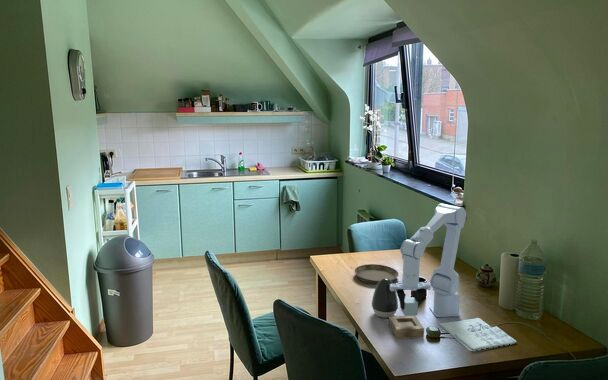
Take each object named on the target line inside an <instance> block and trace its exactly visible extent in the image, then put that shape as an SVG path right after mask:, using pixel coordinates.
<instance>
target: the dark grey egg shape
mask: <svg viewBox="0 0 608 380" xmlns="http://www.w3.org/2000/svg"><path fill="white" fill-rule="evenodd" d="M390 284H394V283H393V282H392V281H391V280H390V279H388V278H383V279H381V280H380V281H379V282H378V284H376V287H374V292H373V295H372V301H371V307H372V310H373V312H374V313H375V315H377V316H378V317H379V318H384V319H385V318H386V319H387V318H389V316H395V314H396V313H397V310H398V309H399V302H398V301H399V299H398V295H397V292H396V290H394V291H391V290H390Z"/></svg>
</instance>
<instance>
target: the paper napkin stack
mask: <svg viewBox="0 0 608 380" xmlns="http://www.w3.org/2000/svg"><path fill="white" fill-rule="evenodd" d="M438 325H439V327H440V328H442V329H444V331H446V332H447V333H449V335H451V336H452V337H453V338H454V339H455V340H456V341H458V342H459V343H460V344H461V345H462V346H463V347H464V346H465V347H464V348H465V349H466V350H467V351H468V352H470V351H473V352H477V351H476V350H478V351H482V350H481V349H484V350H487V349H486V348H489V349H493V347H494V348H499V347H498V346H500V347H503V345H505V346H509V344H510V345H514V344H516V343H517V340H516V339H514V338H513V337H512V336H510V335H509V334H507V333H506V332H505V331H504V330H502V329H501V328H499V327H498V325H496V326H492V325H489V324H488V323H486V321H483V319H482V318H479V317H475V318H471V319H463V320H458V321H450V322H439V324H438Z"/></svg>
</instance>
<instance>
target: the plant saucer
mask: <svg viewBox="0 0 608 380" xmlns="http://www.w3.org/2000/svg"><path fill="white" fill-rule="evenodd" d="M354 273H355V275H356V277H357V278H358V279H359V280H360V281H362V282H364V283H366V284H370V285H377V284H378V282H379V281H380V280H381V279H383V278H388V279H390V280H391V281H392V283H393V282H394V281H396V280H397V279H398V277H399V271H398V270H396V269H395V268H393V267H391V266H388V265H383V264H374V263H372V264H371V263H369V264H362V265H359V266H357V267H355V269H354Z"/></svg>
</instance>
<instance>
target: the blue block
mask: <svg viewBox="0 0 608 380" xmlns="http://www.w3.org/2000/svg"><path fill="white" fill-rule="evenodd" d="M418 309H419V306H418V302H417V301H416V299H415V296H411V297H410V296H408V297H406V296H405V300H404V310H402V309H401V308H400V311H401V312H402V313H403V316H416V317H417V316H418Z"/></svg>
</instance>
